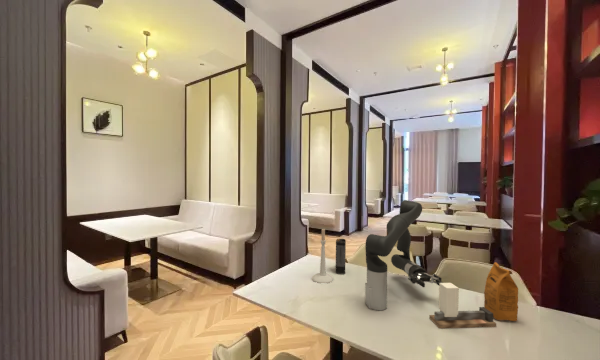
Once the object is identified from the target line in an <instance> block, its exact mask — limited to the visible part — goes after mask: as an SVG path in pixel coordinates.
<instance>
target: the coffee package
mask: <svg viewBox="0 0 600 360" xmlns="http://www.w3.org/2000/svg"><path fill="white" fill-rule="evenodd" d="M491 266H492V267H491V268H490V271H489V272H488V274H487V277H486V281H485V287H484V291H483V294H484V295H483V296H484V297H483V298H484V302H483V303H484V304H483V305H484V306H483V307H484V308H486V309H487V310H489V311H490V312H492V313H493V319H494V320H496V321H510V322H517V321H518V311H519V305H518V304H519V287H518V285H517V284H516V282H515V281H514V279H513V278H512V276H511V275H513V271H512V270H510V269H506V268H504V267H500V264H499V263H498V262H496V261H495V262H494V263H493V265H491Z"/></svg>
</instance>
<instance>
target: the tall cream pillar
mask: <svg viewBox="0 0 600 360" xmlns="http://www.w3.org/2000/svg"><path fill="white" fill-rule="evenodd" d="M438 287H439V288H438V291H439V292H438V310H439V311H442V312H443V313H444V317H457V315H458V311H459V296H460V295H459V293H460V291H459V289H460V288H459V287H458V286H456V285H455V284H453V283H452V282H443V283H439V285H438Z"/></svg>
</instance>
